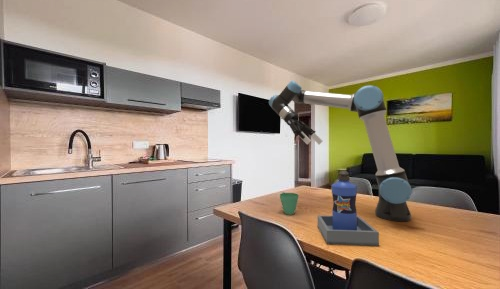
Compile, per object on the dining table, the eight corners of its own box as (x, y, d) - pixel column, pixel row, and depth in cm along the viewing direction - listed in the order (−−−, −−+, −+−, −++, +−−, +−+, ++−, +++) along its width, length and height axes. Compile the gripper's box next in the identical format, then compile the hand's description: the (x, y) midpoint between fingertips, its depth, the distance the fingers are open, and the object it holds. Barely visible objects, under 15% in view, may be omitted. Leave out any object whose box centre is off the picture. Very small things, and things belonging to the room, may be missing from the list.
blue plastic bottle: (355, 239, 82) (354, 172, 83) (329, 234, 87) (329, 171, 88) (358, 231, 90) (357, 170, 91) (334, 227, 95) (334, 169, 96)
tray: (359, 227, 97) (359, 216, 97) (379, 246, 79) (378, 232, 79) (317, 226, 99) (317, 215, 99) (327, 244, 81) (326, 230, 81)
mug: (301, 215, 115) (301, 196, 115) (284, 216, 113) (283, 197, 113) (290, 207, 129) (290, 190, 129) (274, 209, 127) (274, 191, 127)
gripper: (296, 122, 134) (320, 147, 124) (272, 119, 115) (298, 148, 105) (304, 113, 130) (329, 137, 120) (280, 108, 111) (308, 136, 101)
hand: (315, 142), depth 112 cm, fingers open, 13 cm apart
